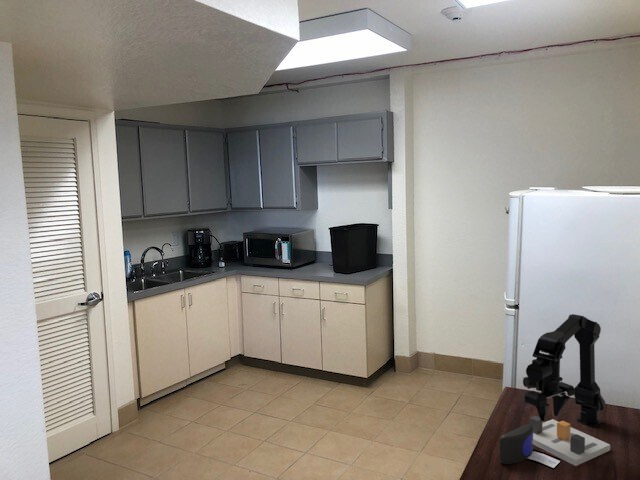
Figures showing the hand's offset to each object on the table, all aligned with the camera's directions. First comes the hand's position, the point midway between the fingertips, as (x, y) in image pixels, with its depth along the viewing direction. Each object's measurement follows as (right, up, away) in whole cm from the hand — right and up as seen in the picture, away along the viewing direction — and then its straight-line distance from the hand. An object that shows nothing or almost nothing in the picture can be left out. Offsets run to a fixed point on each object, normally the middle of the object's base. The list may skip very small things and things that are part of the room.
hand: (549, 418), depth 175 cm
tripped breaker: (+7, -8, +5) cm, 11 cm away
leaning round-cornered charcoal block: (-12, -12, -2) cm, 17 cm away
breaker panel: (+7, -10, +5) cm, 13 cm away
